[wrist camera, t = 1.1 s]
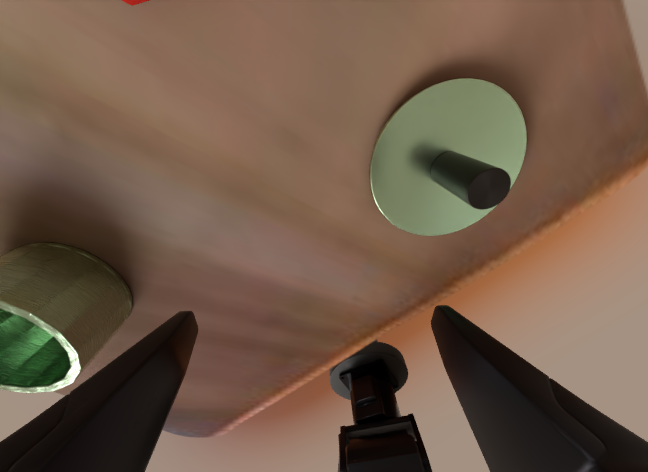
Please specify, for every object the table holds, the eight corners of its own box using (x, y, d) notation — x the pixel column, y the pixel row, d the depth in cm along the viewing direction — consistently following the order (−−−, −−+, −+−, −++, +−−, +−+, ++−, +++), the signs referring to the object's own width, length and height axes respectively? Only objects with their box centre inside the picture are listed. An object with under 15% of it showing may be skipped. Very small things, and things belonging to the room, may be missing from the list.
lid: (524, 193, 21) (598, 226, 15) (396, 249, 23) (421, 295, 17) (503, 42, 16) (601, 13, 10) (343, 132, 18) (355, 145, 13)
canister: (156, 306, 25) (110, 366, 19) (82, 342, 27) (21, 406, 21) (59, 221, 20) (-38, 268, 15) (-21, 272, 22) (-134, 331, 17)
